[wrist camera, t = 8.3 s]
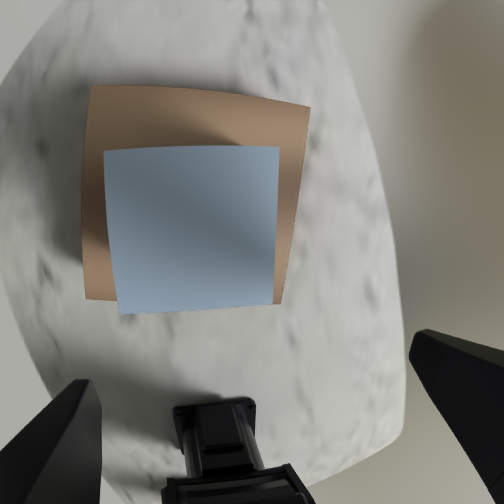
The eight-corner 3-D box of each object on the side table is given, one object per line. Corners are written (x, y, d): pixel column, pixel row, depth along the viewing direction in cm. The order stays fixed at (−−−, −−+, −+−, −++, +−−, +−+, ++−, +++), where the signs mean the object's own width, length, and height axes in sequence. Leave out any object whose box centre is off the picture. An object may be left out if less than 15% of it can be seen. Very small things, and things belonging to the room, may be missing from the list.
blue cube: (242, 254, 15) (272, 303, 10) (135, 260, 14) (119, 314, 9) (244, 146, 13) (279, 146, 9) (129, 150, 12) (103, 151, 8)
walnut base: (261, 274, 20) (280, 304, 16) (101, 269, 18) (85, 299, 14) (282, 114, 17) (310, 107, 13) (108, 98, 15) (91, 85, 11)
